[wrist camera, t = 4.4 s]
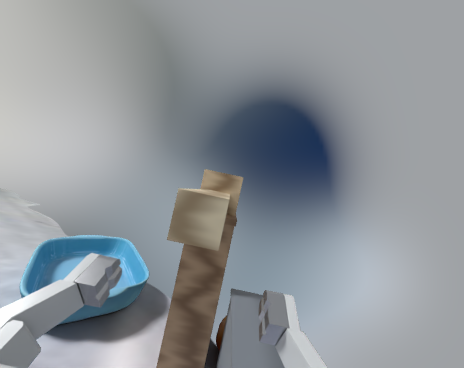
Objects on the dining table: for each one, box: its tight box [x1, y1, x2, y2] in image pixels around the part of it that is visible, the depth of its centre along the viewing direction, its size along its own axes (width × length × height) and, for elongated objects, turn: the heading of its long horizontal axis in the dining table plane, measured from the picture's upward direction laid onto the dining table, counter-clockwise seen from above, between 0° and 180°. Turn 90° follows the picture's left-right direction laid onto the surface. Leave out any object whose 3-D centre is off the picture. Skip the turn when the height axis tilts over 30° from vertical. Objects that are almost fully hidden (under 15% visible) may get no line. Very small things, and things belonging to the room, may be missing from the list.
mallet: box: [167, 169, 243, 251], centre depth 27 cm, size 7×28×7 cm, turn 0°
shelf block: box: [156, 214, 237, 368], centre depth 35 cm, size 7×14×26 cm, turn 0°
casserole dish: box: [20, 235, 149, 324], centre depth 47 cm, size 37×22×7 cm, turn 40°
